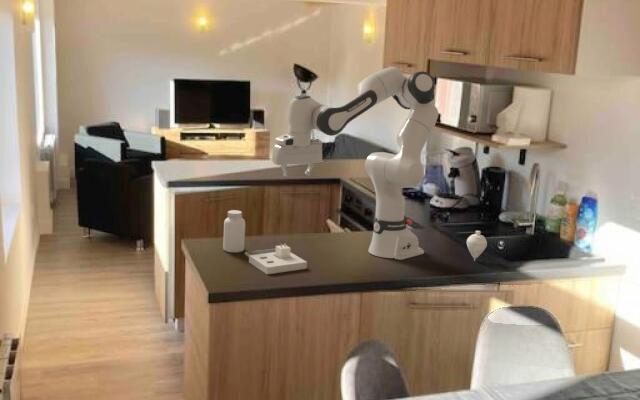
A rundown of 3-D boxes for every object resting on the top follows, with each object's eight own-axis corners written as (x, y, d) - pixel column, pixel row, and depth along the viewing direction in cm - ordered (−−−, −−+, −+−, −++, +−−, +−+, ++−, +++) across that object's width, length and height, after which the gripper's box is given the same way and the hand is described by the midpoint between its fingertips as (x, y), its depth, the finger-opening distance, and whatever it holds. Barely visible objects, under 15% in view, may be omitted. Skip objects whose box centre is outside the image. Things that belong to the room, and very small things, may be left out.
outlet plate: (287, 256, 253) (287, 249, 252) (306, 268, 241) (307, 261, 241) (248, 262, 244) (249, 254, 244) (266, 274, 233) (267, 266, 232)
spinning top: (474, 265, 257) (478, 234, 255) (460, 259, 263) (463, 229, 261) (488, 262, 261) (492, 232, 259) (474, 256, 268) (477, 227, 265)
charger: (284, 260, 249) (285, 241, 247) (289, 263, 246) (290, 244, 244) (274, 261, 247) (275, 242, 245) (280, 265, 244) (281, 245, 242)
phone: (275, 251, 260) (275, 248, 259) (284, 257, 254) (284, 253, 254) (244, 256, 253) (244, 252, 252) (253, 261, 247) (253, 257, 247)
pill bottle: (229, 254, 252) (230, 215, 248) (219, 248, 258) (220, 210, 255) (248, 251, 256) (249, 213, 253) (237, 245, 263) (238, 208, 259)
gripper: (318, 137, 261) (315, 172, 264) (271, 138, 250) (269, 175, 254) (326, 139, 256) (324, 175, 259) (279, 141, 245) (277, 178, 248)
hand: (296, 175), depth 256 cm, fingers open, 8 cm apart
